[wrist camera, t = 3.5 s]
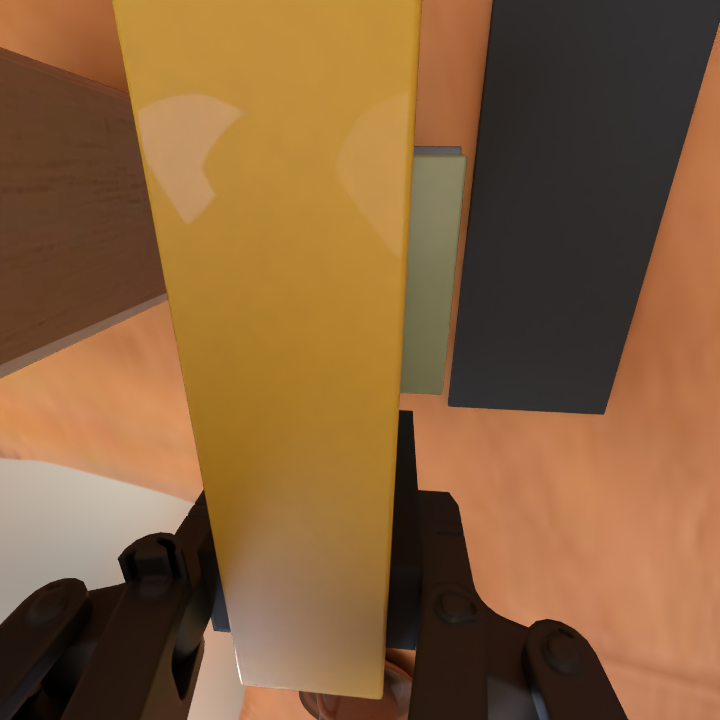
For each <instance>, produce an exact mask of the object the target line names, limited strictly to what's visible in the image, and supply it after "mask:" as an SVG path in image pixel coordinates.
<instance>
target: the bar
mask: <svg viewBox="0 0 720 720" xmlns="http://www.w3.org/2000/svg"><path fill="white" fill-rule="evenodd" d="M112 4H113V9H114V14H115V20H116V25H117V30H118V35H119V41H120V46H121V51H122V57H123V62H124V67H125V73H126V78H127V83H128V89H129V94H130V99H131V104H132V110H133V115H134V120H135V126H136V131H137V136H138V142H139V147H140V152H141V158H142V163H143V168H144V173H145V179H146V184H147V189H148V195H149V200H150V205H151V211H152V216H153V221H154V227H155V232H156V237H157V242H158V248H159V253H160V258H161V264H162V269H163V274H164V280H165V285H166V290H167V296H168V301H169V306H170V311H171V317H172V322H173V327H174V333H175V338H176V343H177V349H178V354H179V359H180V365H181V370H182V375H183V380H184V386H185V391H186V396H187V402H188V407H189V412H190V418H191V423H192V428H193V434H194V439H195V444H196V449H197V455H198V460H199V465H200V471H201V476H202V481H203V487H204V492H205V497H206V503H207V508H208V513H209V518H210V524H211V529H212V534H213V540H214V545H215V550H216V556H217V561H218V566H219V571H220V577H221V582H222V587H223V593H224V598H225V603H226V609H227V614H228V619H229V625H230V630H231V635H232V640H233V646H234V651H235V656H236V662H237V666H238V672H239V678H240V683H241V684H243V685H250V686H259V687H269V688H278V689H287V690H297V691H306V692H315V693H325V694H334V695H343V696H353V697H362V698H371V699H381V698H382V696H383V684H384V666H385V648H386V631H387V613H388V595H389V578H390V560H391V542H392V525H393V507H394V489H395V472H396V454H397V436H398V419H399V401H400V383H401V366H402V348H403V330H404V313H405V295H406V277H407V260H408V242H409V224H410V207H411V189H412V171H413V154H414V136H415V118H416V101H417V83H418V65H419V48H420V30H421V12H422V0H112Z"/></svg>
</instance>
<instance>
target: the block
mask: <svg viewBox="0 0 720 720" xmlns="http://www.w3.org/2000/svg"><path fill="white" fill-rule="evenodd" d="M166 300H168V296H167V290H166V285H165V280H164V274H163V269H162V264H161V258H160V253H159V248H158V242H157V237H156V232H155V227H154V221H153V216H152V211H151V205H150V200H149V195H148V189H147V184H146V179H145V173H144V168H143V163H142V158H141V152H140V147H139V142H138V136H137V131H136V126H135V120H134V115H133V110H132V104H131V99H130V94H128V93H125V92H122V91H119V90H117V89H114V88H111V87H108V86H106V85H103V84H100V83H97V82H95V81H92V80H89V79H86V78H84V77H81V76H78V75H75V74H73V73H70V72H67V71H64V70H62V69H59V68H56V67H53V66H51V65H48V64H45V63H42V62H40V61H37V60H34V59H31V58H29V57H26V56H23V55H20V54H17V53H15V52H12V51H9V50H6V49H4V48H1V47H0V378H2V377H4V376H6V375H9V374H11V373H13V372H15V371H17V370H19V369H21V368H23V367H26V366H28V365H30V364H32V363H34V362H36V361H38V360H41V359H43V358H45V357H47V356H49V355H51V354H53V353H55V352H58V351H60V350H62V349H64V348H66V347H68V346H70V345H73V344H75V343H77V342H79V341H81V340H83V339H85V338H87V337H90V336H92V335H94V334H96V333H98V332H100V331H102V330H105V329H107V328H109V327H111V326H113V325H115V324H117V323H119V322H122V321H124V320H126V319H128V318H130V317H132V316H134V315H136V314H139V313H141V312H143V311H145V310H147V309H149V308H151V307H154V306H156V305H158V304H160V303H162V302H164V301H166Z"/></svg>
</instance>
